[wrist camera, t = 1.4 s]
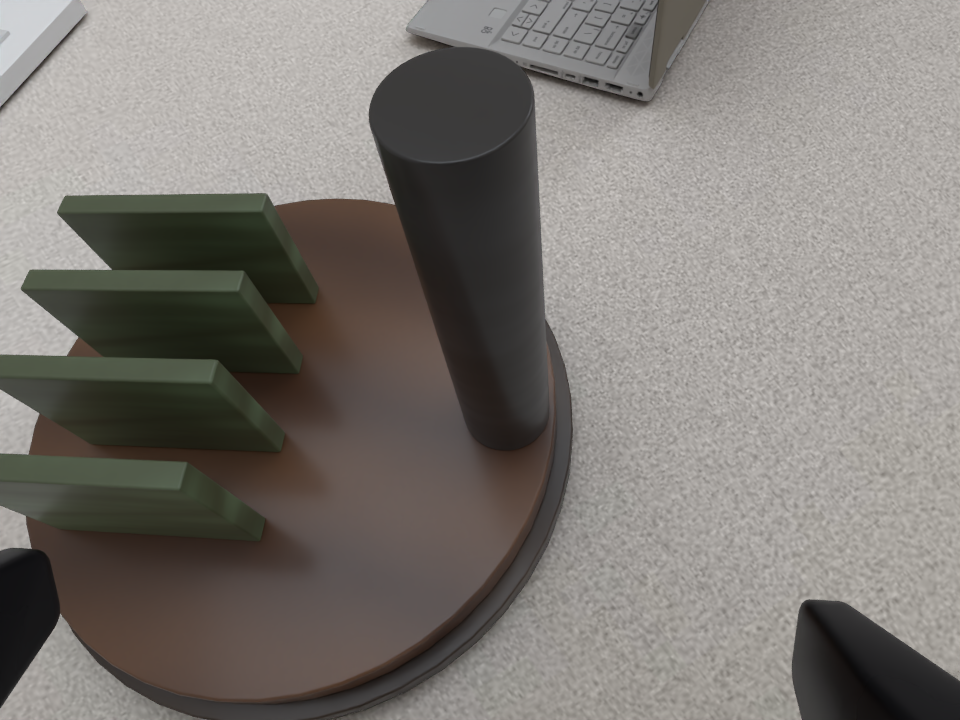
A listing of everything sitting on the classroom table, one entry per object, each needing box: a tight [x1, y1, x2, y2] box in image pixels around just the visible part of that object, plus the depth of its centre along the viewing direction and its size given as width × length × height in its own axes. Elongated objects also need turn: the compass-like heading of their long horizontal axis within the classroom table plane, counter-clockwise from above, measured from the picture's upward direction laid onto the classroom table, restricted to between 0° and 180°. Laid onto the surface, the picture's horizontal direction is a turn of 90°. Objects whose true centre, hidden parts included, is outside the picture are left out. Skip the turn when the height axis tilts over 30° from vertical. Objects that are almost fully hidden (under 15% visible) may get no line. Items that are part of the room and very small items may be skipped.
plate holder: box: [0, 47, 557, 704], centre depth 17 cm, size 17×17×13 cm
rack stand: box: [69, 319, 573, 720], centre depth 23 cm, size 18×18×1 cm
